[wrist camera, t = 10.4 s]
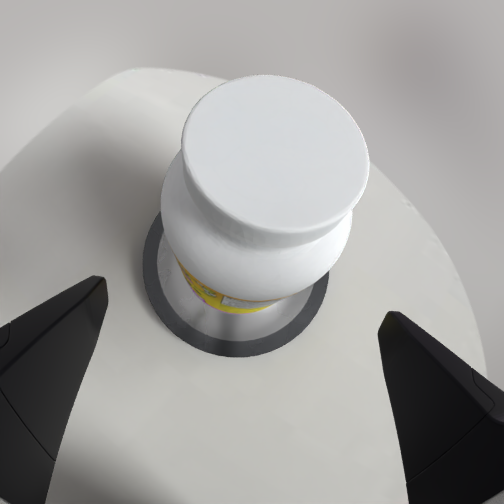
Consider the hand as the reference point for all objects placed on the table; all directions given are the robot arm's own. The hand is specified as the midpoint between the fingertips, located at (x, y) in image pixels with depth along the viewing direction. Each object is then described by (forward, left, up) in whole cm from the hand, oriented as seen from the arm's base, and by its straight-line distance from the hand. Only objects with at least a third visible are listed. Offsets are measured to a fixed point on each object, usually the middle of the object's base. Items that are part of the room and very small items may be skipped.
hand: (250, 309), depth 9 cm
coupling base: (+4, 0, -11) cm, 12 cm away
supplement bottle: (+4, 0, -10) cm, 10 cm away
